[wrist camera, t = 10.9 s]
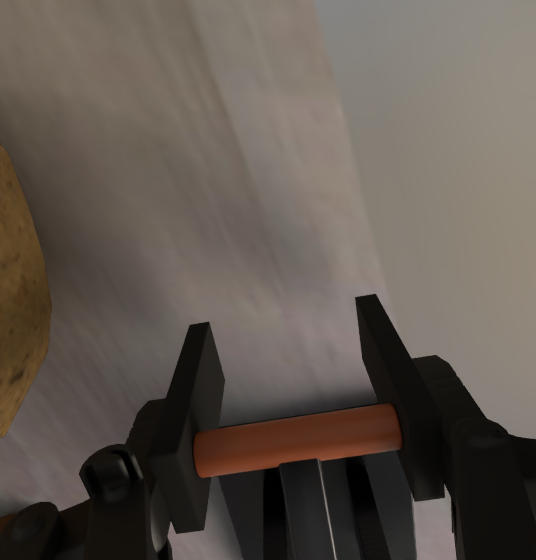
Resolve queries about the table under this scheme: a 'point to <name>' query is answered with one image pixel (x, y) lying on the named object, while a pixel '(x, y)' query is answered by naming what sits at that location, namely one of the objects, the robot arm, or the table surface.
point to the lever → (300, 461)
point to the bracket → (342, 506)
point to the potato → (19, 296)
